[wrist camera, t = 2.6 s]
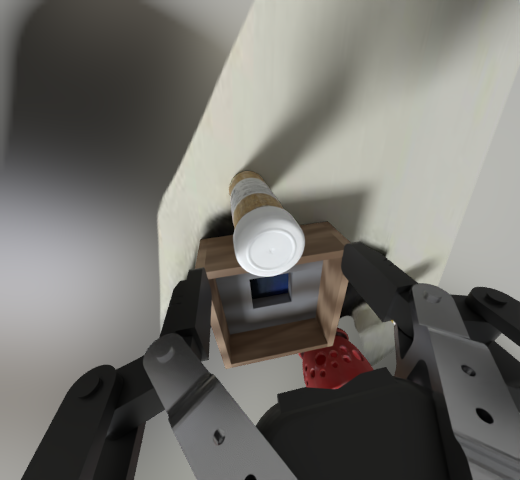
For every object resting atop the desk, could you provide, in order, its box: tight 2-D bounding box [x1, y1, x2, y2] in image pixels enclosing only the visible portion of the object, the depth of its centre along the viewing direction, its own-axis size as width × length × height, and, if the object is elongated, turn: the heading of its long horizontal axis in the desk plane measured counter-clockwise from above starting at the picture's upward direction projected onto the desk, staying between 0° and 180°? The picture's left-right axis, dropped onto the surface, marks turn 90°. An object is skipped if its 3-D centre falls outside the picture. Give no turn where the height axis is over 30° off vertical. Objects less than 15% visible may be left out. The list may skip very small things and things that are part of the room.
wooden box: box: [195, 221, 350, 369], centre depth 29 cm, size 20×18×7 cm
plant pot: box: [299, 328, 373, 389], centre depth 38 cm, size 13×13×12 cm
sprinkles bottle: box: [229, 171, 305, 277], centre depth 17 cm, size 5×5×13 cm
